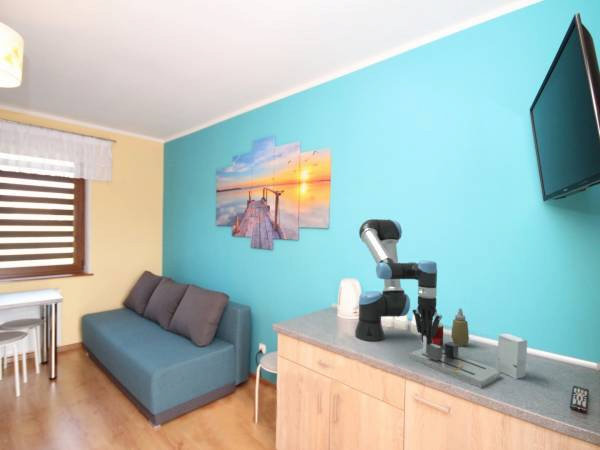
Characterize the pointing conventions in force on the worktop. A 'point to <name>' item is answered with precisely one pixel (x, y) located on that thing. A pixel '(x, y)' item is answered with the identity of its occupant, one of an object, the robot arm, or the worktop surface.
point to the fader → (435, 352)
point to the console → (458, 366)
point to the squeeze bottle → (460, 329)
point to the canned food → (438, 336)
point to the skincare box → (511, 355)
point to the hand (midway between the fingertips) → (426, 350)
